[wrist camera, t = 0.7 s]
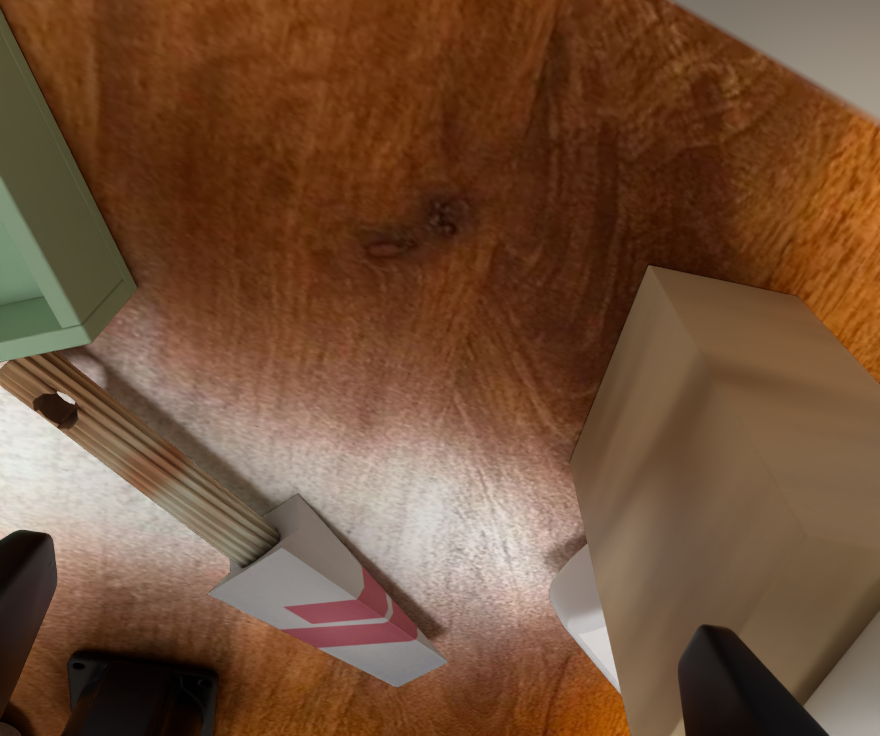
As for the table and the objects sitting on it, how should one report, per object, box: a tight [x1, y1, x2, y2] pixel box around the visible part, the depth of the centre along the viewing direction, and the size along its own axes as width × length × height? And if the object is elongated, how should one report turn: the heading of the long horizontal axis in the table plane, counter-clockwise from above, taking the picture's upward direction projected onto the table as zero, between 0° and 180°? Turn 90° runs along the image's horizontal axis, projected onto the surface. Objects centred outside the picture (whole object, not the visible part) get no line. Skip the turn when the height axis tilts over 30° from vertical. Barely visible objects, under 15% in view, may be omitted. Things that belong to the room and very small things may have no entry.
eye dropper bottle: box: [549, 543, 621, 694], centre depth 29 cm, size 4×6×12 cm
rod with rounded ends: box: [803, 610, 880, 736], centre depth 14 cm, size 7×1×1 cm, turn 168°
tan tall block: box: [570, 265, 880, 736], centre depth 20 cm, size 8×5×12 cm, turn 168°
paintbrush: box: [0, 351, 448, 688], centre depth 27 cm, size 4×3×20 cm
